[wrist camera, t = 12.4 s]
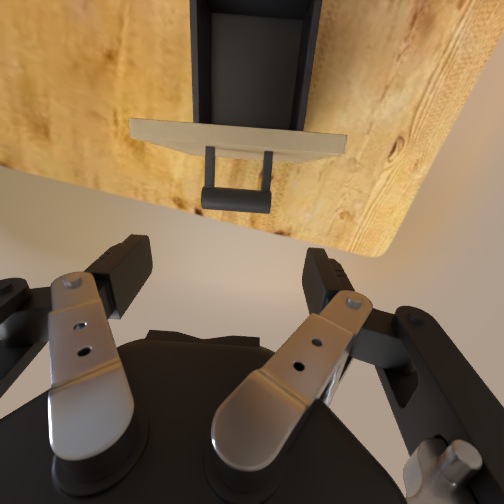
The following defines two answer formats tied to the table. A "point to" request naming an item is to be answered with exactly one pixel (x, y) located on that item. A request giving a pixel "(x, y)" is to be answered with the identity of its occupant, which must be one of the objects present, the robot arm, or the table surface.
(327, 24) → the table surface
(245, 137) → the storage bin lid
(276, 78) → the dark open storage bin
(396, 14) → the table surface
